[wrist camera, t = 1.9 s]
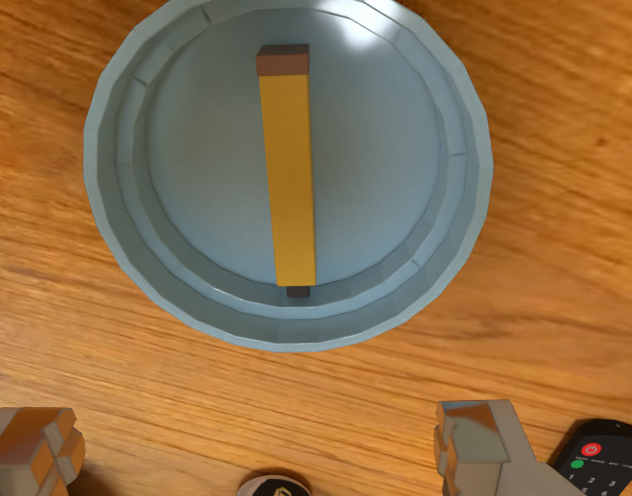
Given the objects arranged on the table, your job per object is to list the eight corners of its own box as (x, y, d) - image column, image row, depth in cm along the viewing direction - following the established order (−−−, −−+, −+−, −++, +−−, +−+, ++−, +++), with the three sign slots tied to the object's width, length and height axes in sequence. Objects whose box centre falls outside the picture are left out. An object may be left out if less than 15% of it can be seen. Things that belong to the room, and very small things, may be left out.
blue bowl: (129, -82, 21) (84, -91, 17) (524, 23, 23) (566, 36, 19) (114, 269, 29) (81, 317, 25) (403, 325, 31) (415, 378, 27)
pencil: (261, 45, 23) (255, 55, 20) (309, 44, 23) (307, 53, 20) (280, 279, 29) (277, 307, 26) (318, 278, 29) (317, 306, 26)
